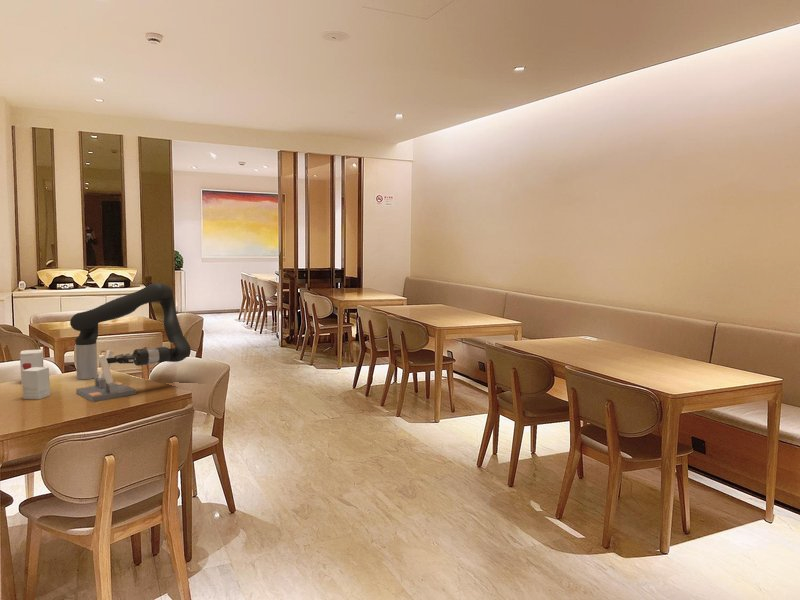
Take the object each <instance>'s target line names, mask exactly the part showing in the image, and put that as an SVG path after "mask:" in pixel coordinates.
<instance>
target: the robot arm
mask: <svg viewBox="0 0 800 600" xmlns="http://www.w3.org/2000/svg"><path fill="white" fill-rule="evenodd" d="M155 302H156V303H159V304H160V306H161V308H162V311H163V328H164V332H165V335H166V336H167V337H166V338H167V339H168V342H170V343H173V345H174V347H173V348H172V347H171V348H169V347H166V346H161V347H146V348H136V349H134V350H133V353H131V352H130V353H126V354H125V353H124V354H123V353H121V354H117V355H115V356H114V355H113V357H112V358H106V359H107V362H108V364H109V363H110V364H121V365H122V364H124V365H125V364H134V365H135V366H138V367H139V366H147V365H153V364H156V363H157V364H158V363H165V362H169V363H177V362H178V363H179V362H182V361H183V360H185V359H186V358H188V357H189V356H190V355H191V353H192V349H191V345H190V344H189V342H188V340H187V339H186V337H185V336H184V333H183V330H182V328H181V325H180V322H179V320H178V319H179V318H178V316H177V311H176V304H175V300H174V293H173V289H172V288H171V287H170V286H169V285H168V284H164V283H160V282H155V283H154V282H153V283H151V284H149V285H147V286H145V287H143V288H141V289H139V290H137V291H135V292H131V293H129V294H125V295H123V296H120V297H117V298H115V299H112V300H110V301H107V302H105V303H103V304H101V305H99V306H96V307H95V308H92V309H88V310H86V311H85V310H84V311H81V312H76V313H75V314H74V315H73V316H72V317H71V318H70V321H69V325H70V328H71V329H73V330H75V331H78V332H79V335H78V336H77V337H76V338H75V340H74V344H75V345H74V346H75V365H76V367H75V368H76V372H75V373H76V379H77V380H90V379H95V378H96V377H98V376H99V373H98V372H99V371H98V348H97V340H98V337H99V324H100V323H103V322H108V321H112V320H117V319H119V318H123V317H125V316H127V315H130V314H132V313H133V312H136V310H137V309H138V308H139V307H142V306H143V305H146V304H149V303H155Z"/></svg>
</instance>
